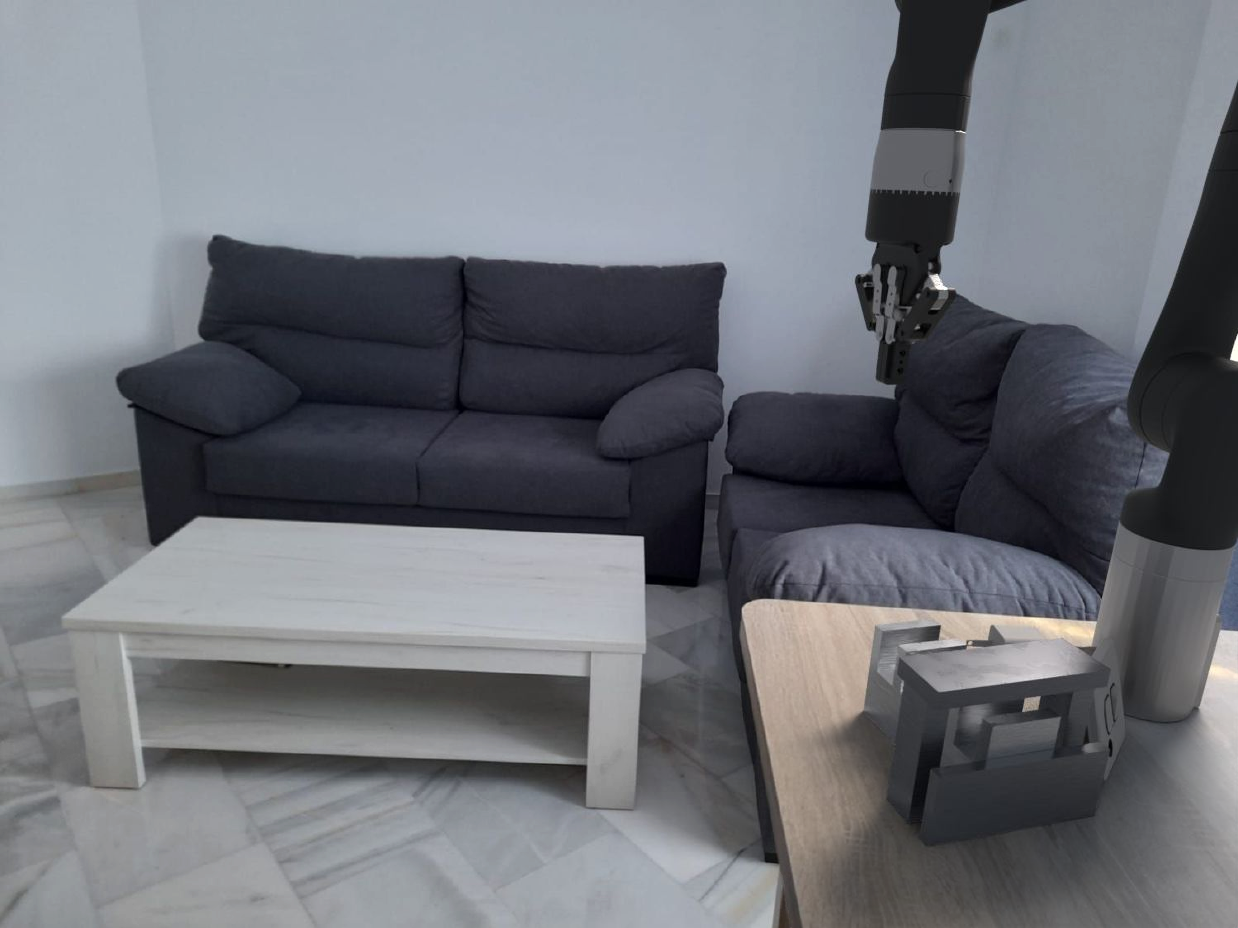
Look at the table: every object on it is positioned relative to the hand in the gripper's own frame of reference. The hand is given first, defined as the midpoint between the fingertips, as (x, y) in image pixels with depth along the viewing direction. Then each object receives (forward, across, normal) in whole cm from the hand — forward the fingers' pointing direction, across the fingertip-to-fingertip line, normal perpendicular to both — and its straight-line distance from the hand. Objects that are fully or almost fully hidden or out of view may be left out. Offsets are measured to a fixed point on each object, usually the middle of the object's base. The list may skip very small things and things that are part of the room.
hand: (889, 382), depth 81 cm
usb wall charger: (+29, -4, -15) cm, 33 cm away
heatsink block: (+29, -16, +1) cm, 34 cm away
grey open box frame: (+29, -22, +1) cm, 36 cm away
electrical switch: (+29, -18, -12) cm, 36 cm away
